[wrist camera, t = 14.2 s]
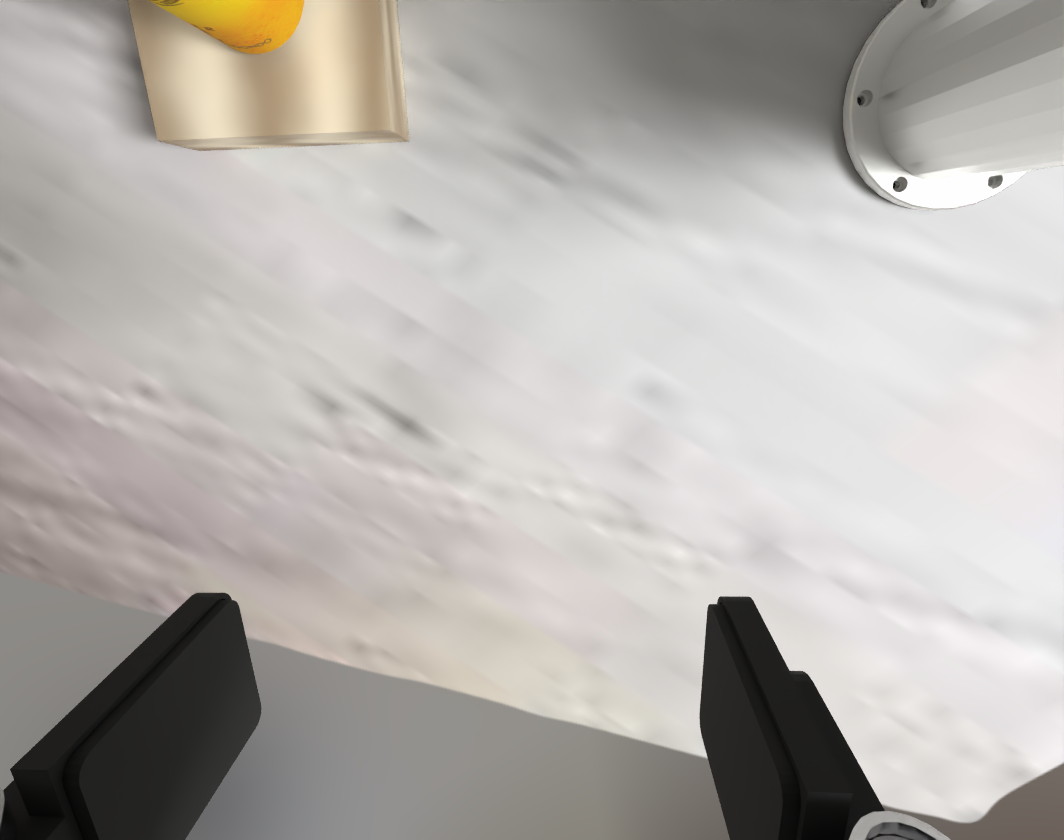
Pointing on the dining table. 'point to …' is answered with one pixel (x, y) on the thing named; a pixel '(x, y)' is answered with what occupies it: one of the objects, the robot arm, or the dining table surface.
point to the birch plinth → (277, 80)
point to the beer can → (241, 21)
